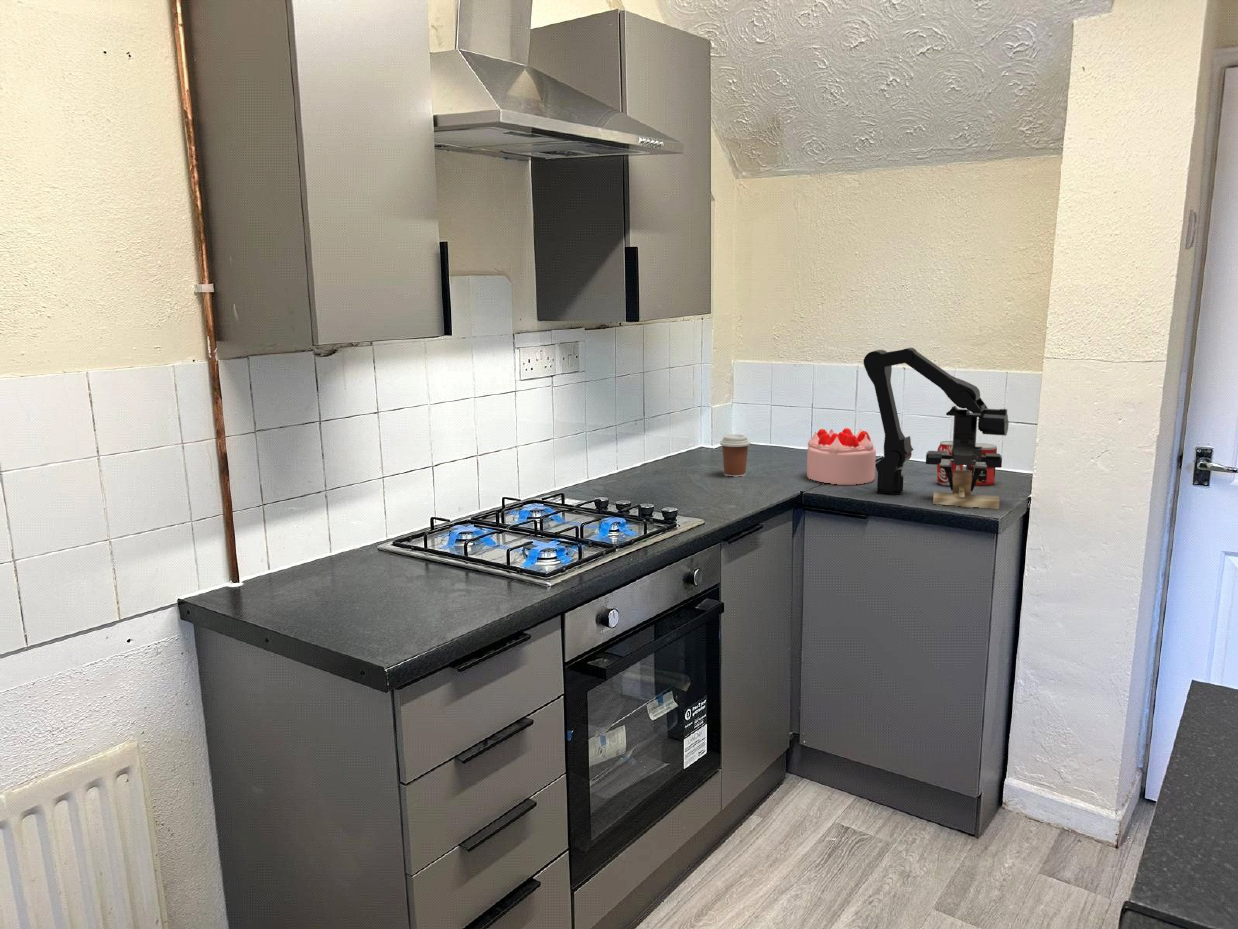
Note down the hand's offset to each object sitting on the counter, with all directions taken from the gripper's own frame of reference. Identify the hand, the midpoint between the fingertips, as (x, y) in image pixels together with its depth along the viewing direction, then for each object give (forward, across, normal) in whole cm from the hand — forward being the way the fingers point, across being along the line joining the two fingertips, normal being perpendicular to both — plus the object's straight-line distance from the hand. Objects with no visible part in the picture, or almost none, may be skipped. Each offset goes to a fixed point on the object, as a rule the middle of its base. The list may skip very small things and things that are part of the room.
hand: (961, 490), depth 248 cm
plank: (+2, +1, -5) cm, 6 cm away
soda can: (+2, -3, +19) cm, 19 cm away
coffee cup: (+2, -65, +14) cm, 66 cm away
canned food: (+3, +5, +22) cm, 23 cm away
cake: (+2, -34, +18) cm, 38 cm away
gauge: (+2, 0, -4) cm, 4 cm away
